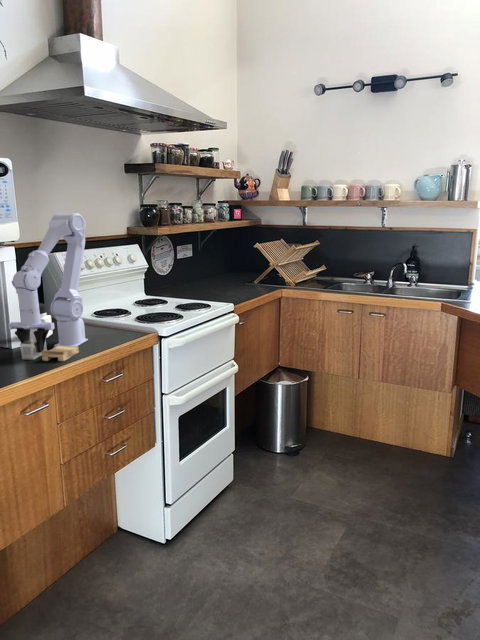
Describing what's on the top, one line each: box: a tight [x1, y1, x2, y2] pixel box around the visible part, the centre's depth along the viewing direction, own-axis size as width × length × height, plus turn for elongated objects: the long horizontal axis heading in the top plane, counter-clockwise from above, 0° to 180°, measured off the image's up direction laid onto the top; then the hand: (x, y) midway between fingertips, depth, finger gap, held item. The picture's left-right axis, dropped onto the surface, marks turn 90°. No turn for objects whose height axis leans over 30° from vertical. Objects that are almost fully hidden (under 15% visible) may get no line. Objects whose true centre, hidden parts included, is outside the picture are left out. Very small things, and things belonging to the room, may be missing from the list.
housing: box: [20, 337, 48, 360], centre depth 166 cm, size 8×4×5 cm, turn 170°
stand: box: [41, 346, 80, 362], centre depth 165 cm, size 10×7×3 cm
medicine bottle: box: [30, 302, 54, 339], centre depth 190 cm, size 7×7×12 cm
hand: (34, 351), depth 166 cm, fingers closed on housing, 4 cm apart
